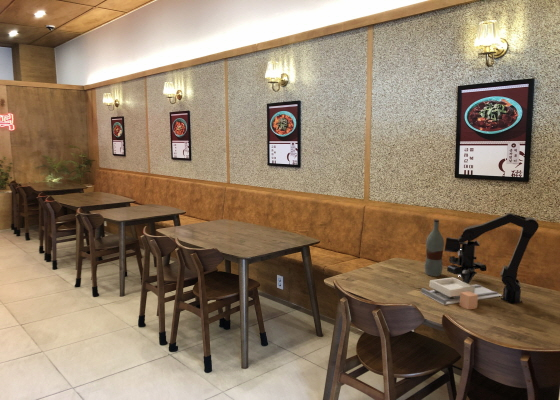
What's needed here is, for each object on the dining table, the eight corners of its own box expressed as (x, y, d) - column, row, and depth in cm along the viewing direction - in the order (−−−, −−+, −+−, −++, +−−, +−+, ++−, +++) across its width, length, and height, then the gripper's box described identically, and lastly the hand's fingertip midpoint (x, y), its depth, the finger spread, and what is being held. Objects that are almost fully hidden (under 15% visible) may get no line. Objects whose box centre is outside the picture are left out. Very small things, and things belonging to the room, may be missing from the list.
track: (502, 296, 207) (502, 291, 207) (443, 304, 196) (444, 300, 195) (476, 285, 222) (477, 280, 222) (420, 292, 210) (421, 288, 210)
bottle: (421, 271, 243) (424, 218, 239) (436, 270, 245) (439, 218, 240) (429, 277, 234) (433, 221, 230) (445, 276, 236) (449, 221, 231)
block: (476, 308, 193) (478, 295, 192) (467, 309, 191) (468, 296, 190) (468, 304, 197) (469, 291, 196) (459, 305, 195) (460, 292, 195)
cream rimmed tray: (474, 297, 202) (474, 286, 202) (449, 300, 198) (450, 290, 197) (452, 287, 215) (453, 277, 215) (429, 290, 211) (429, 280, 210)
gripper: (471, 248, 217) (468, 278, 220) (440, 251, 211) (438, 282, 213) (488, 253, 207) (486, 285, 209) (456, 257, 201) (454, 289, 203)
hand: (465, 285), depth 209 cm, fingers closed
